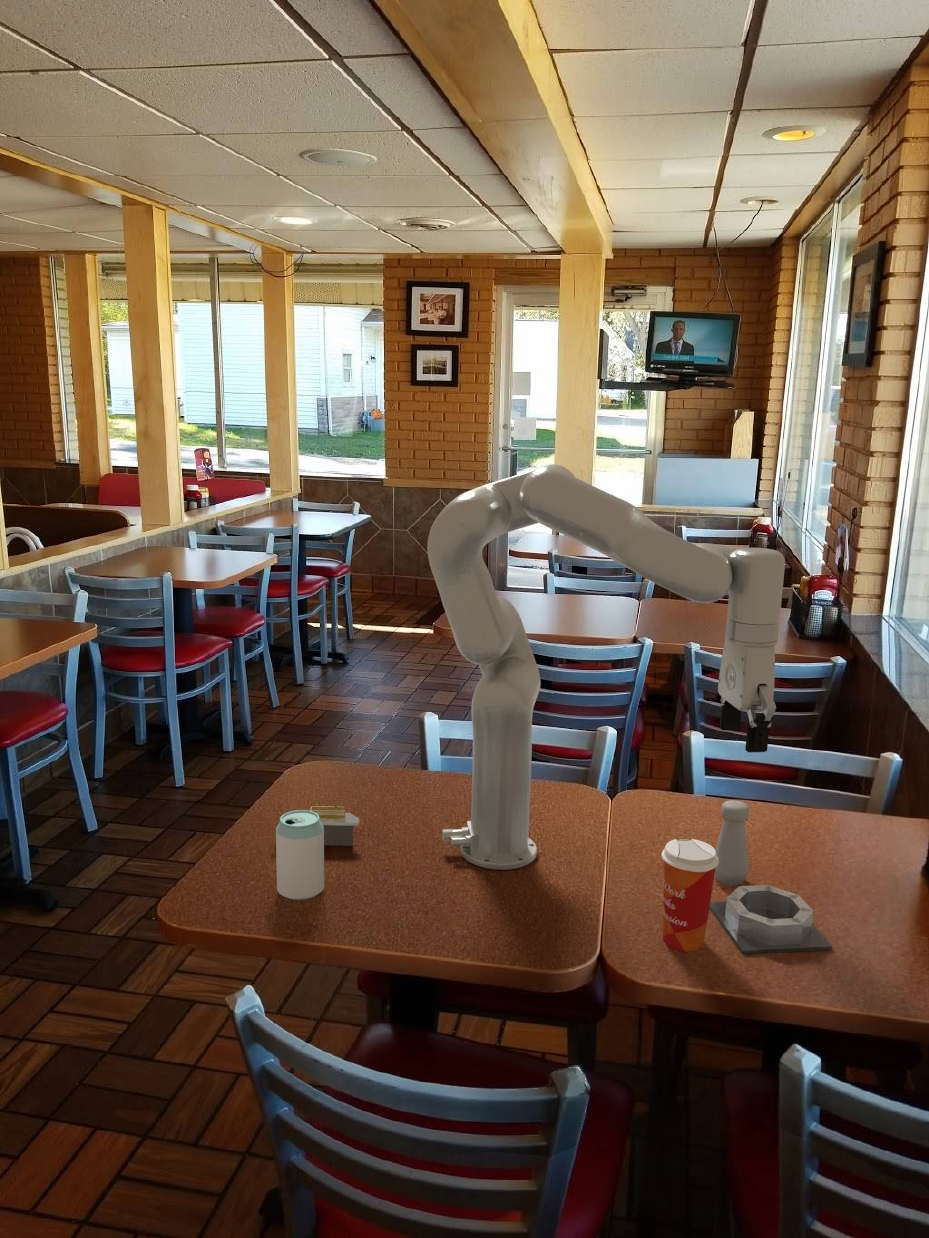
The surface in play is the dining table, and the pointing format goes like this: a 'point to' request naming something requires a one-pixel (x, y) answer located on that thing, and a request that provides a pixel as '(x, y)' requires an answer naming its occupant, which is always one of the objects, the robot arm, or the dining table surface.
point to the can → (300, 855)
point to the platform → (337, 826)
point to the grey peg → (732, 844)
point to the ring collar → (768, 921)
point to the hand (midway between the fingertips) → (742, 740)
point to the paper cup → (687, 892)
